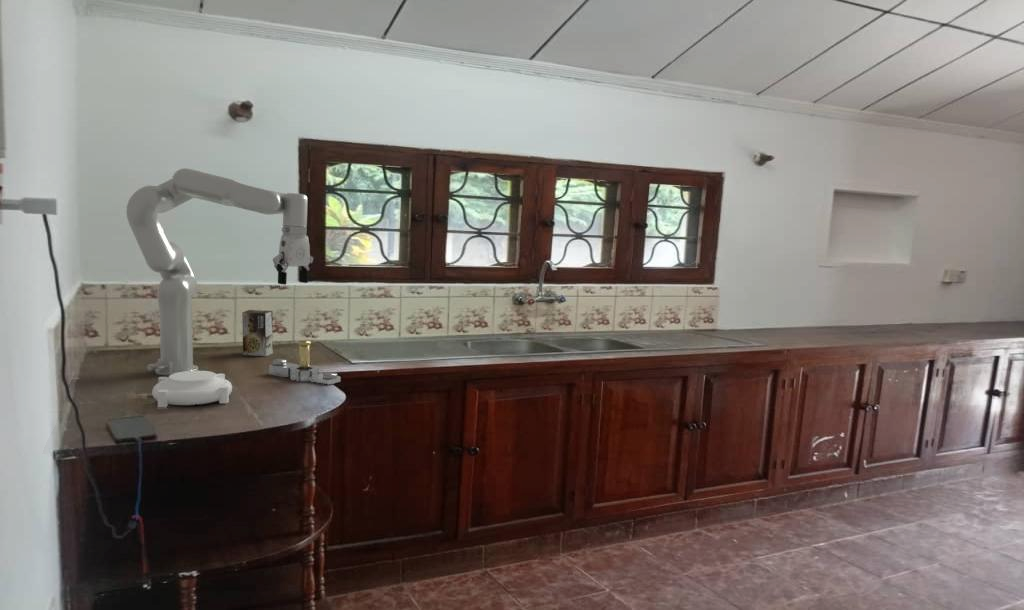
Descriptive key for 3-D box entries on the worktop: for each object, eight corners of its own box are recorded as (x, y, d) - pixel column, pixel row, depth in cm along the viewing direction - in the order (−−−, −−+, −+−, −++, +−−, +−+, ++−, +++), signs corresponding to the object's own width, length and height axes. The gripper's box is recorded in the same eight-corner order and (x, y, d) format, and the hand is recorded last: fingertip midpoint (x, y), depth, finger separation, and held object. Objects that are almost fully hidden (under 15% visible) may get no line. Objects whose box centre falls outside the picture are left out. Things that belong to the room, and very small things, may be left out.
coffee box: (273, 353, 264) (273, 310, 262) (265, 356, 258) (265, 313, 256) (250, 351, 265) (249, 309, 263) (241, 355, 259) (241, 311, 256)
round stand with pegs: (191, 385, 215) (191, 362, 215) (256, 395, 208) (256, 371, 207) (125, 404, 193) (124, 379, 192) (195, 416, 185) (194, 390, 184)
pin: (304, 380, 227) (305, 343, 225) (295, 378, 228) (295, 341, 227) (313, 377, 230) (313, 341, 229) (303, 375, 232) (304, 339, 230)
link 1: (305, 382, 224) (305, 369, 223) (264, 375, 231) (264, 361, 230) (324, 377, 231) (324, 364, 231) (284, 370, 239) (284, 357, 238)
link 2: (326, 386, 220) (326, 377, 220) (284, 378, 227) (284, 370, 227) (344, 380, 228) (344, 372, 228) (303, 373, 235) (303, 365, 235)
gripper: (283, 232, 222) (282, 286, 225) (321, 232, 238) (319, 283, 240) (266, 230, 226) (264, 283, 228) (304, 230, 241) (303, 280, 243)
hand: (292, 283), depth 234 cm, fingers open, 9 cm apart
